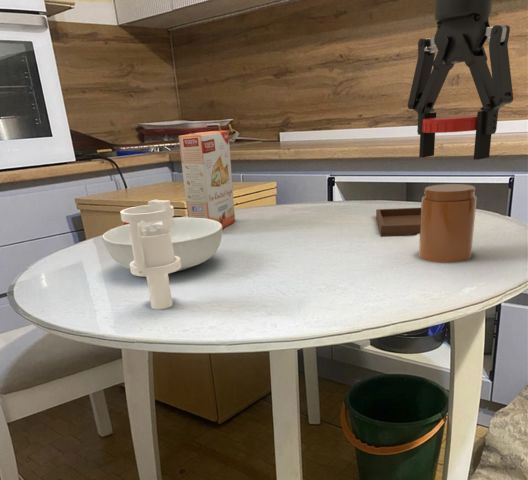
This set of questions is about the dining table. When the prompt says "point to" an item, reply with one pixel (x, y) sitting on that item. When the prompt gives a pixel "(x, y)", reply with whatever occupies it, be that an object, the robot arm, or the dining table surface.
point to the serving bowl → (182, 237)
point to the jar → (447, 223)
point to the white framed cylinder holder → (153, 248)
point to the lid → (449, 124)
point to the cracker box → (208, 176)
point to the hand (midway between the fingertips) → (452, 157)
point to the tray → (398, 221)
